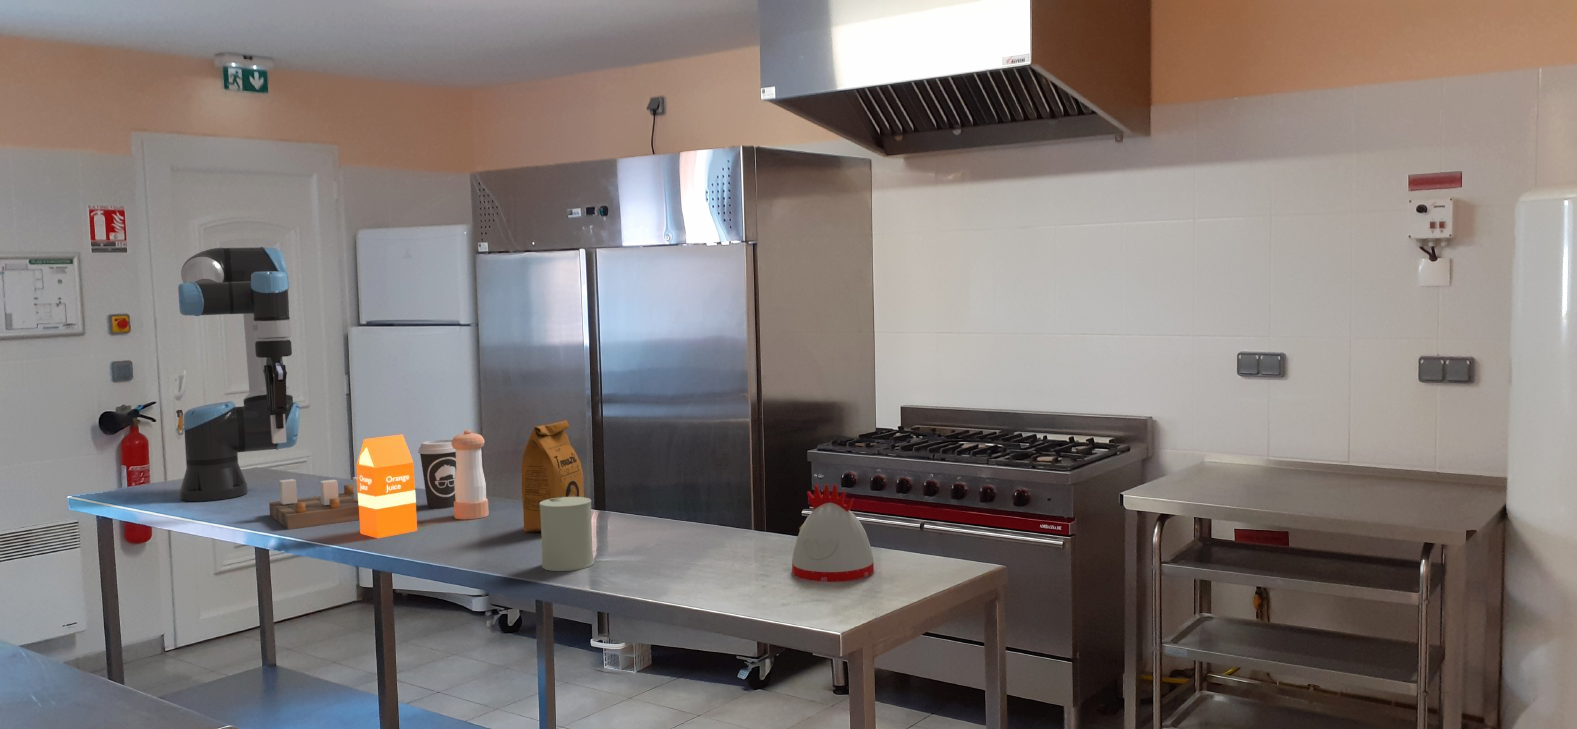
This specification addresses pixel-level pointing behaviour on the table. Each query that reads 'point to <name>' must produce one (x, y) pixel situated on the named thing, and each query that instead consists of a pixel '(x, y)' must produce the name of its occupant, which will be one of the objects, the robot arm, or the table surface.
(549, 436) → the coffee package
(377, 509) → the orange juice
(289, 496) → the switch
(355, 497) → the switch
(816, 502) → the kitchen timer
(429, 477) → the coffee cup
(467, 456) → the pepper shaker
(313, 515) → the switch unit
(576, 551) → the can
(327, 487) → the switch
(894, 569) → the table surface
